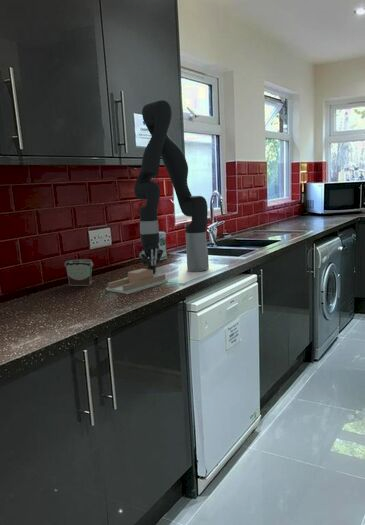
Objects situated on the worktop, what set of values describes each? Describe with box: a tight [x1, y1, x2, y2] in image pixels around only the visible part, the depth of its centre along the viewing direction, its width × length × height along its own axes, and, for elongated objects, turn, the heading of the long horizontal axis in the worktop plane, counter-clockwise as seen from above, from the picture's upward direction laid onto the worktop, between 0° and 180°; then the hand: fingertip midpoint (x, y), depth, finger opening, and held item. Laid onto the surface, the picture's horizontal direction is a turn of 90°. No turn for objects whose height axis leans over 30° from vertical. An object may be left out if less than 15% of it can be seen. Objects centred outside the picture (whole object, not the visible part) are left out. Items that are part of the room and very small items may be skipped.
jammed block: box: [127, 268, 154, 283], centre depth 173 cm, size 8×6×4 cm
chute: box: [105, 273, 169, 295], centre depth 172 cm, size 22×12×3 cm, turn 140°
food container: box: [64, 258, 94, 287], centre depth 180 cm, size 12×6×10 cm, turn 74°
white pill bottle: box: [156, 231, 168, 261], centre depth 230 cm, size 6×6×14 cm
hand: (152, 274), depth 178 cm, fingers closed
